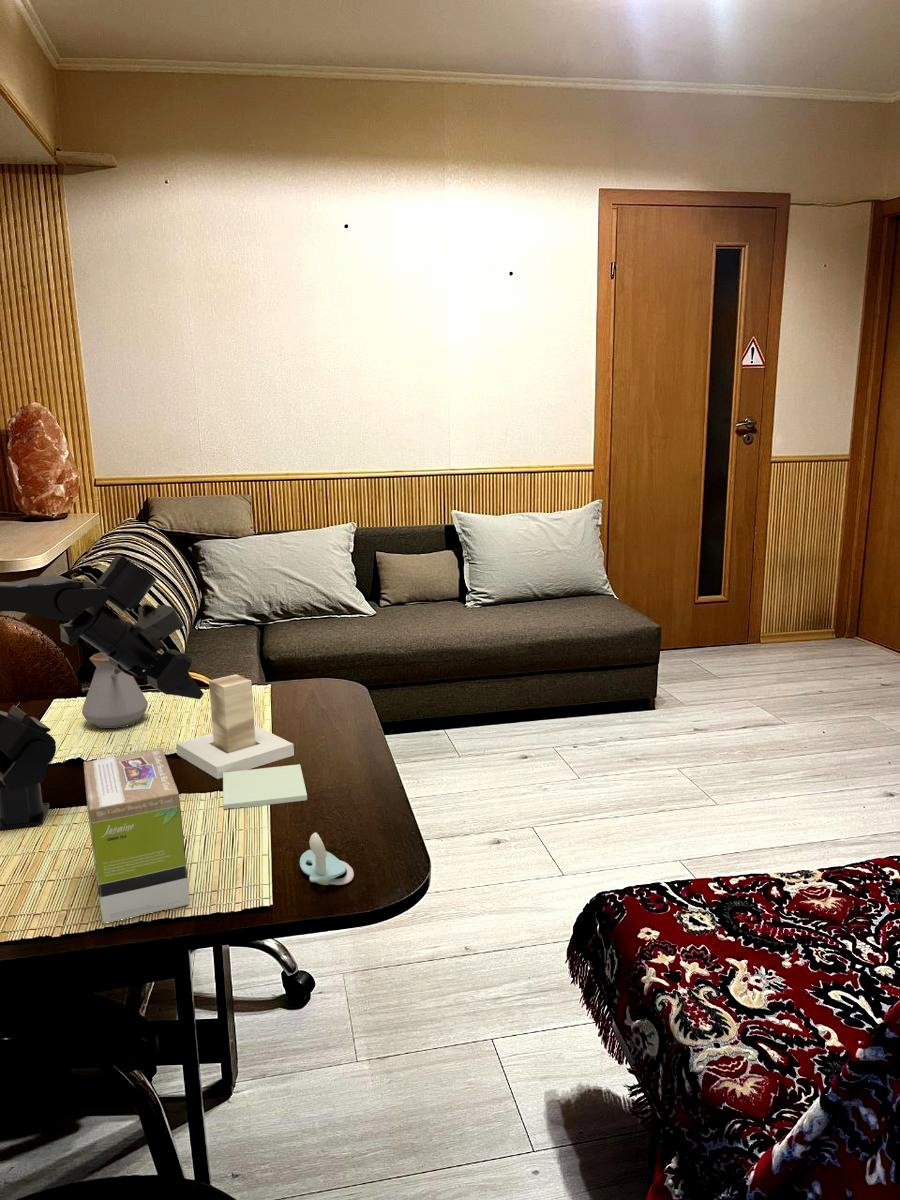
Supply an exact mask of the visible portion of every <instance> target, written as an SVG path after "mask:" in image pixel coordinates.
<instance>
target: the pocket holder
mask: <svg viewBox="0 0 900 1200" xmlns="http://www.w3.org/2000/svg"><path fill="white" fill-rule="evenodd" d="M254 728H255V743H256V745H255V746H251V747H248V748H245V749H241V750H238V751H235V752H231V753H228V754H227V753H225V752H223V751H221V750H219V749H218V748H216V747H214V740H213V732H212V733H208V734H206V735H201V736H197V737H194V738H191V739H187V740H183V741H181V742H177V743H176V744H175V745H176V755H177V756H179V757H180V758H182V759H184V760H185V761H187V762H188V763H190V764H192V765H194V766H195V767H197V768H199V769H200V770H201V771H203V772H205V773H207V774H208V775H210V776H211V777H213V778H215V779H217V780H220V779H223V773H224V772H234V771H243V770H252V769H256V768H257V767H261V766H264V765H267V764H271V763H273V762H277V761H281V760H283V759H287V758H290V757H293V756H295V751H294V750H295V748H294V746H295V745H294V743H292V742H290V741H288V740H286V739H284V738H283V737H280V736H278V735H276V734H273V733H272V732H270V731H268V730H266V729H264V728H262V727H260V726H258V725H255V724H254Z"/></svg>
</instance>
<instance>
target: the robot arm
mask: <svg viewBox="0 0 900 1200" xmlns="http://www.w3.org/2000/svg"><path fill="white" fill-rule="evenodd" d="M156 582H157V578H156V577H155V576H154V575H153V574H151V572H150V571H148V570H147V569H145V568H144V567H143V568H142V567H141V566H139V565H137V564H136V563H134V562H132V561H131V560H129V559H127V558H126V557H125V556H123V555H122V554H121V555H120V554H116V555H115V556H114V557H113V559H112V560H111V562H110V564H109V565H108V567H107V568H106V570H105V571H104V572H103V573H102V575H101V576H100V577H99V579H98V580H97V581H96V582H95V583H94V582H91V581H88V580H85V581H84V580H83V581H76V580H72V579H70V578H67V577H64V576H62V575H57V574H52V575H51V574H50V575H43V576H36V577H35V576H34V577H28V578H26V579H25V578H24V579H22V580H15V581H0V612H16V613H23V614H27V615H28V614H29V615H33V616H35V617H36V616H37V617H41V618H46V619H52V620H57V621H63V622H66V623H60V624H59V629H60V640H61V641H62V642H63V643H65V644H67V645H69V646H73V645H75V643H76V642H77V641H78V639H79V638H81V639H82V640H84V641H85V642H87V643H89V644H90V645H91V646H93V647H94V648H95V649H97V650H98V651H99V653H102V654H104V655H105V656H107V657H109V664H111V665H112V666H114V667H115V668H116V669H118V670H120V671H122V672H124V673H126V674H128V675H130V676H133V678H138V679H142V680H146V681H147V684H148V685H149V686H151V687H152V688H154V689H155V690H158V691H159V693H162V694H164V695H168V696H169V695H171V696H178V697H184V698H189V699H194V700H201V699H202V698H203V696H204V695H205V694H204V692H203V690H202V689H201V688H200V686H199V685H198V683H197V682H196V681H195V680H194V679H193V677H192V676H191V674H190V672H189V671H190V669H191V667H192V663H193V659H191V658H190V657H189V656H187V655H186V654H185V653H183V652H181V651H178V650H176V649H174V648H172V649H167V650H164V652H163V653H160V652H158V651H160V650H161V649H162V648H163V646H164V645H165V643H163V642H162V641H163V640H164V639H166V638H167V637H169V636H170V635H172V634H173V633H175V632H176V631H179V630H181V629H183V627H184V625H185V624H184V622H183V621H182V620H181V617H180V616H179V614H178V613H177V611H176V609H175V608H174V606H173V607H172V606H169V605H166V604H161V605H160V604H157V605H156V607H155V606H153V605H151V604H149V603H147V602H145V603H144V604H142V605H140V603H141V601H142V600H143V599H144V598H145V596H146V595H147V594H148V592H149V591H150V590H151V589H152V587H153V586H154V585H155V584H156ZM106 603H107V604H109V605H110V606H111V607H113V608H114V609H116V610H117V611H119V612H121V613H124V612H125V611H126V610H127V611H130V612H131V611H135V610H136V608H137V607H138V606H139V605H140V606H139V607H138V609H137V611H138V618H137V622H136V623H134V624H133V623H131V621H129V620H125V619H124V618H123V617H122V616H121V615H120V614H118V613H116V612H115V611H114V610H112V609H111V608H110V607H108V606H107V605H106ZM49 732H51V728H50V727H48V726H47V725H45V724H44V723H43V722H42V721H40V720H39V719H37V718H36V717H33V716H30V715H28V714H27V713H26V712H24V711H23V710H22V709H20V708H18V707H17V706H16V705H14V704H12V706H11V708H10V709H9V711H8V712H6V711H4V710H3V711H2V710H0V830H7V829H14V828H23V827H22V826H25V827H32V826H33V825H34V826H39V825H42V824H43V823H44V821H45V819H46V816H47V814H48V812H49V809H50V802H45V803H43V798H42V797H43V795H42V788H41V783H44V781H45V779H46V773H47V770H48V767H49V764H50V763H51V762H52V761H53V759H54V758H55V756H56V751H57V745H56V743H57V742H56V740H55V738H54V737H53V736H52V735H51V734H50V733H49ZM31 825H32V826H31Z"/></svg>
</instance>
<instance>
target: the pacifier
mask: <svg viewBox="0 0 900 1200" xmlns="http://www.w3.org/2000/svg"><path fill="white" fill-rule="evenodd" d="M309 848H310V849H307V850H306V851H304V852H303V853H302V854H301V856H300V858H299V866H300V868H301V871H302V872H303V873H304V874H306V875H307V876H309V881H310V882H311V883H316V884H318V885H322V886H329V885H334V886H342V885H347V884H348V883H350V882H352V880H353V878H355V877H354V876H355V873H354V870H353V869H354V868H353V867H352V866H350V865H349V863H347V862H346V861H343V860H340V859H339V858H337V857H336V856H335V855H334V854H332V853H331V852H329V851H327V850H326V848H325V845H324V842H323V841H322V838H321V837H320V835H319V833H318V832H313V833H312V834H311V836H310V838H309ZM307 863H310V864H311V865H309V864H307ZM345 873H346V874H345ZM343 874H345V875H344V877H341V878H337V877H340V876H342V875H343Z"/></svg>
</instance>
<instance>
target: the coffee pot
mask: <svg viewBox="0 0 900 1200" xmlns="http://www.w3.org/2000/svg"><path fill="white" fill-rule="evenodd" d="M89 661H91V662H92V664H93V665H94V666H95V670H94V673H93V677H92V679H91V683H90V685H89V688H88V691H87V693H86V697H85V700H84V703H83V706H82V710H81V711H82V712H81V714H82V716H83V718H84V719H85V720H86V721H87V722H89V723H91V724H93V725H94V724H95V725H96V726H97V727H96V726H95V725H94V726H95V727H96V728H98V727H99V728H98V729H102V728H116V729H118V728H117V727H122V728H124V727H123V726H126V727H128V726H127V725H130V724H132V725H134V724H136V723H137V722H138V721H139V720H138V719H140V718H142V716H143V715H144V714H145V713H146V711H147V709H148V706H149V705H148V704H149V703H148V701H147V697H145V695H144V694H143V692H142V690H141V688H140V686H139V685H138V683H137V681H136V679H135V677H133V676H130V675H128V674H126V673H124V672H122V671H120V670H118V669H116V668H115V667H114V666H112V665H111V664H109V657H107V656H105V655H104V654H102V653H101V652H98V653H95V654H93V655H92V656H90V657H89ZM137 720H138V721H137ZM135 722H136V723H135ZM133 723H134V724H133ZM130 726H131V725H130Z"/></svg>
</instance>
